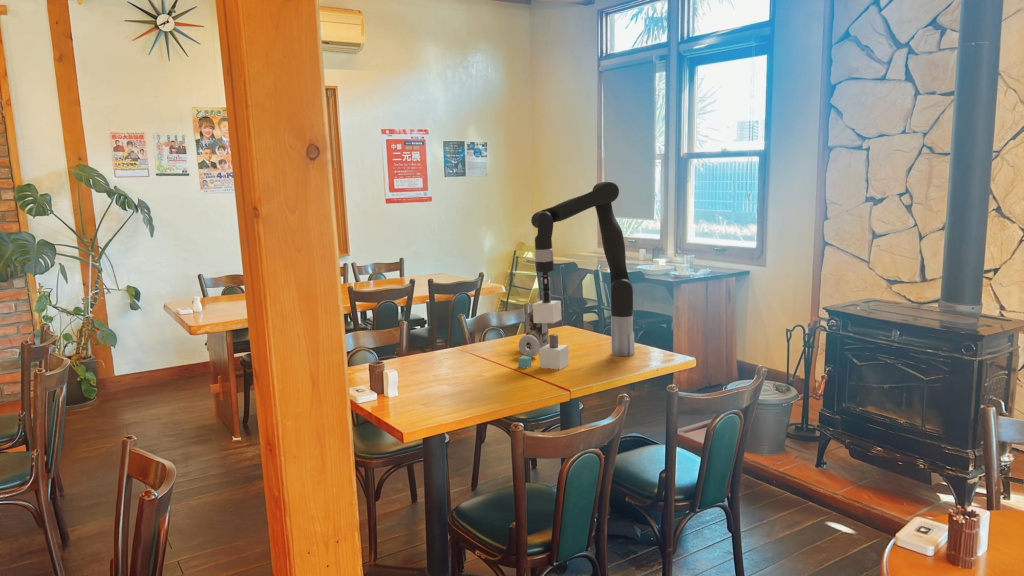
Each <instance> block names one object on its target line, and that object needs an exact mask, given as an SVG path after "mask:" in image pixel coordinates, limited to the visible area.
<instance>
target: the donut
mask: <svg viewBox="0 0 1024 576" xmlns="http://www.w3.org/2000/svg"><path fill="white" fill-rule="evenodd" d="M528 342H529V343H531V345H532V348H527V347H526V344H527V343H528ZM518 348H519V352H520V353H521V354H522V356H528V357H531V358H533V357H536V356H537V355H538V354H539V348H540V346H539V342H538V340H537V339H536V338H535V337H534V336H532V335H526V334H525V335H523V336H521V338H520V339H519V341H518Z"/></svg>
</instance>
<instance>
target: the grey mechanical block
mask: <svg viewBox="0 0 1024 576" xmlns="http://www.w3.org/2000/svg"><path fill="white" fill-rule="evenodd" d="M524 319H525V335H532V336H534V337H535V338H536V339H537V340H538V342H539V346H540V348H542V347H543V346H545V345H547V344H549V335H550V334H549V323H534V321H533V311H530V312H528V313H525V314H524ZM526 347H530V348H529V349H532V345H531V343H529V342H528V343H527V344H526ZM540 348H539V349H540Z"/></svg>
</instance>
